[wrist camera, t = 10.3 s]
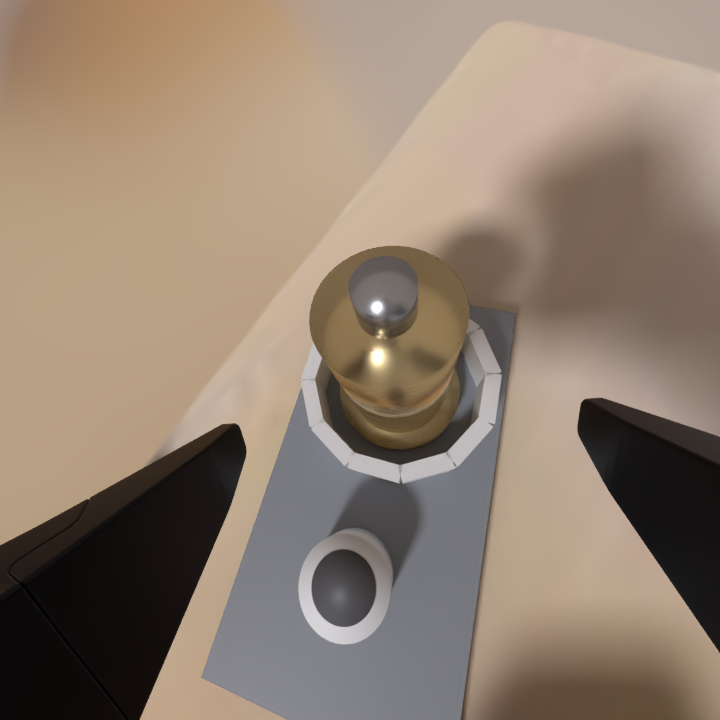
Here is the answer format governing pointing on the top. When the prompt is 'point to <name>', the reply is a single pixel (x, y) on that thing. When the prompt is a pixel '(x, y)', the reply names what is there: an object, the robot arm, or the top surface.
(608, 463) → the robot arm
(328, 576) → the board
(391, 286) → the gold pepper grinder
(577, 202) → the top surface
